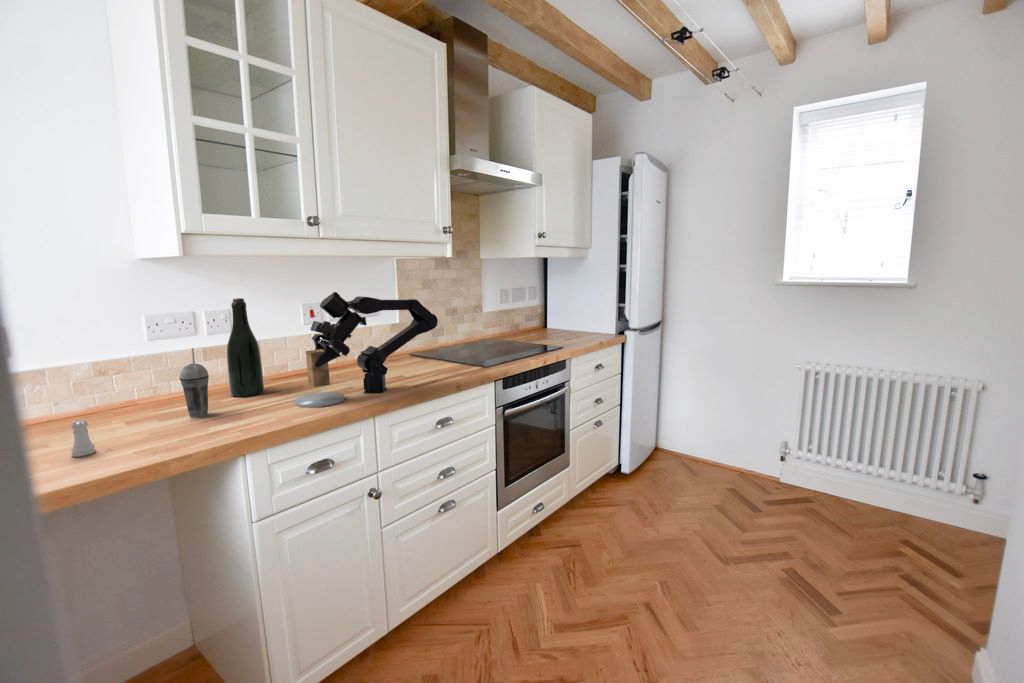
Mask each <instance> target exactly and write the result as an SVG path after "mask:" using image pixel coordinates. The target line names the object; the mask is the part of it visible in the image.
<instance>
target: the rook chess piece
mask: <svg viewBox="0 0 1024 683" xmlns="http://www.w3.org/2000/svg"><path fill="white" fill-rule="evenodd" d="M89 425H90V424H89V422H87V420H86V419H81V421H80V420H79V419H78V420H76V421H75V420H74V421H72V422H71V425H70V428H72V430H73V431H72V434H73V436H74V438H73V439H74V440H73V444H72V448H71V449H70V450H71V451H70V452H72V453H71V454H70V455H71V456H72V457H73V458H82V457H86V456H91V455H92V454H94V453H95V452H96V451H97V448H96V445H95V443H93V442H92V441H91V439H90V436H89V429H88V426H89Z"/></svg>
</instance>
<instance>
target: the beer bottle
mask: <svg viewBox="0 0 1024 683" xmlns="http://www.w3.org/2000/svg"><path fill="white" fill-rule="evenodd" d="M230 307H231V310H232V326H231V331H230V335H229V338H228V342H227V344H226V360H227V363H226V364H227V374H228V385H229V386H228V387H229V394H230V395H231V396H232V397H234V396H236V397H235V398H245V397H244V396H247V397H252V395H253V396H256V394H257V395H260V394H262V393H263V392H264V391H265V380H264V372H263V364H262V355H261V350H260V345H259V343H258V342H259V341H258V340H257V338H256V336H255V334H254V332H253V330H252V329H251V326H250V323H249V318H248V312H247V303H246V301H245V299H244V298H242V297H238V298H237V297H236V298H232V302H231V306H230Z"/></svg>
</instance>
